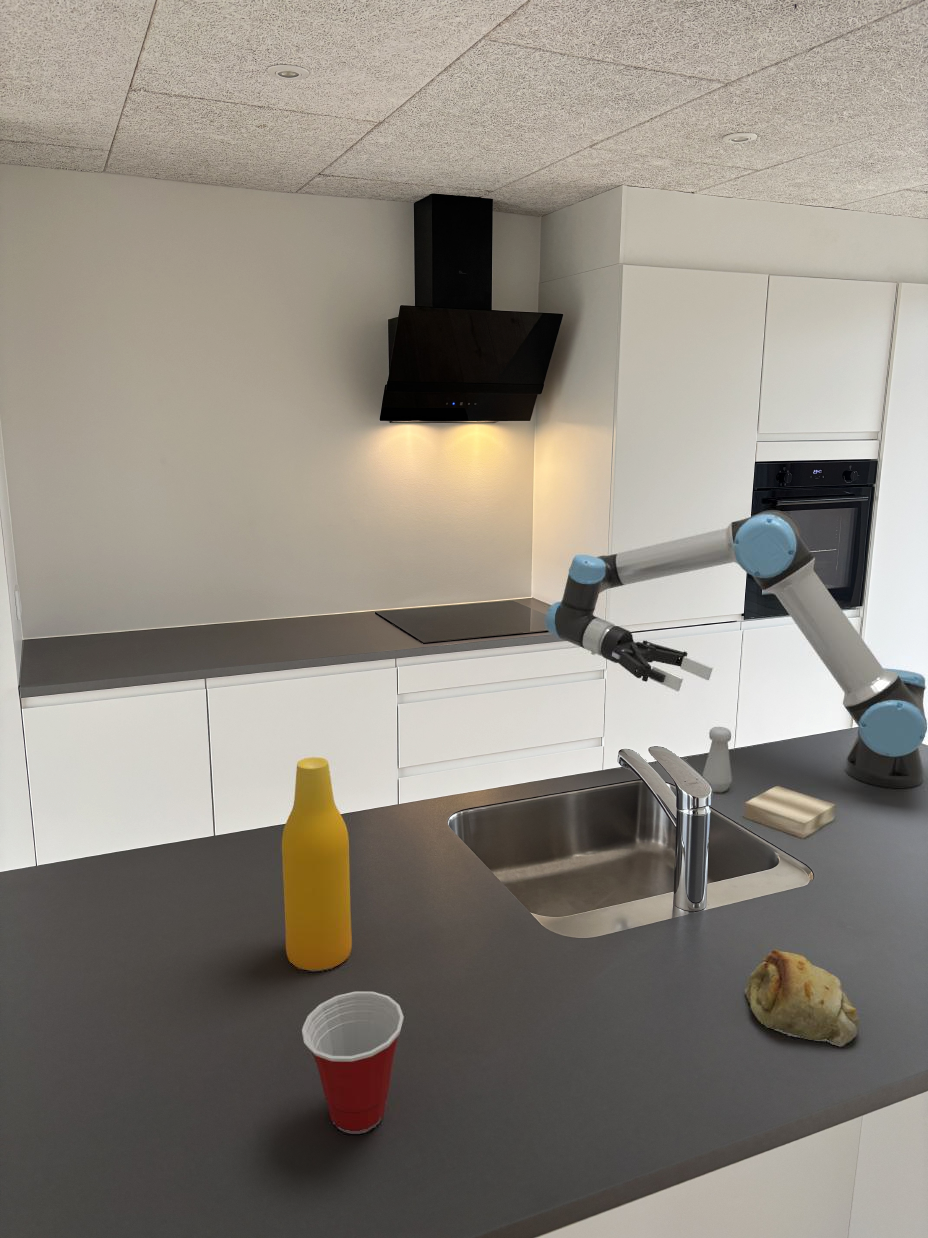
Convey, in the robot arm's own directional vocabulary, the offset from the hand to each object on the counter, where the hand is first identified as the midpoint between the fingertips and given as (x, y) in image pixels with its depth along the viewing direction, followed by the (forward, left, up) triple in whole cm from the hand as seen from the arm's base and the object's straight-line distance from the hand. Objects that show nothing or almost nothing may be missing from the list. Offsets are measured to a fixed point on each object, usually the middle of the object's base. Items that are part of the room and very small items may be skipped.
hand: (695, 679), depth 183 cm
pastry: (+54, +52, -23) cm, 78 cm away
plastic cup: (+105, +27, -23) cm, 111 cm away
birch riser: (+1, +22, -22) cm, 32 cm away
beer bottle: (+92, -1, -23) cm, 94 cm away
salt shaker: (-1, +5, -23) cm, 23 cm away
